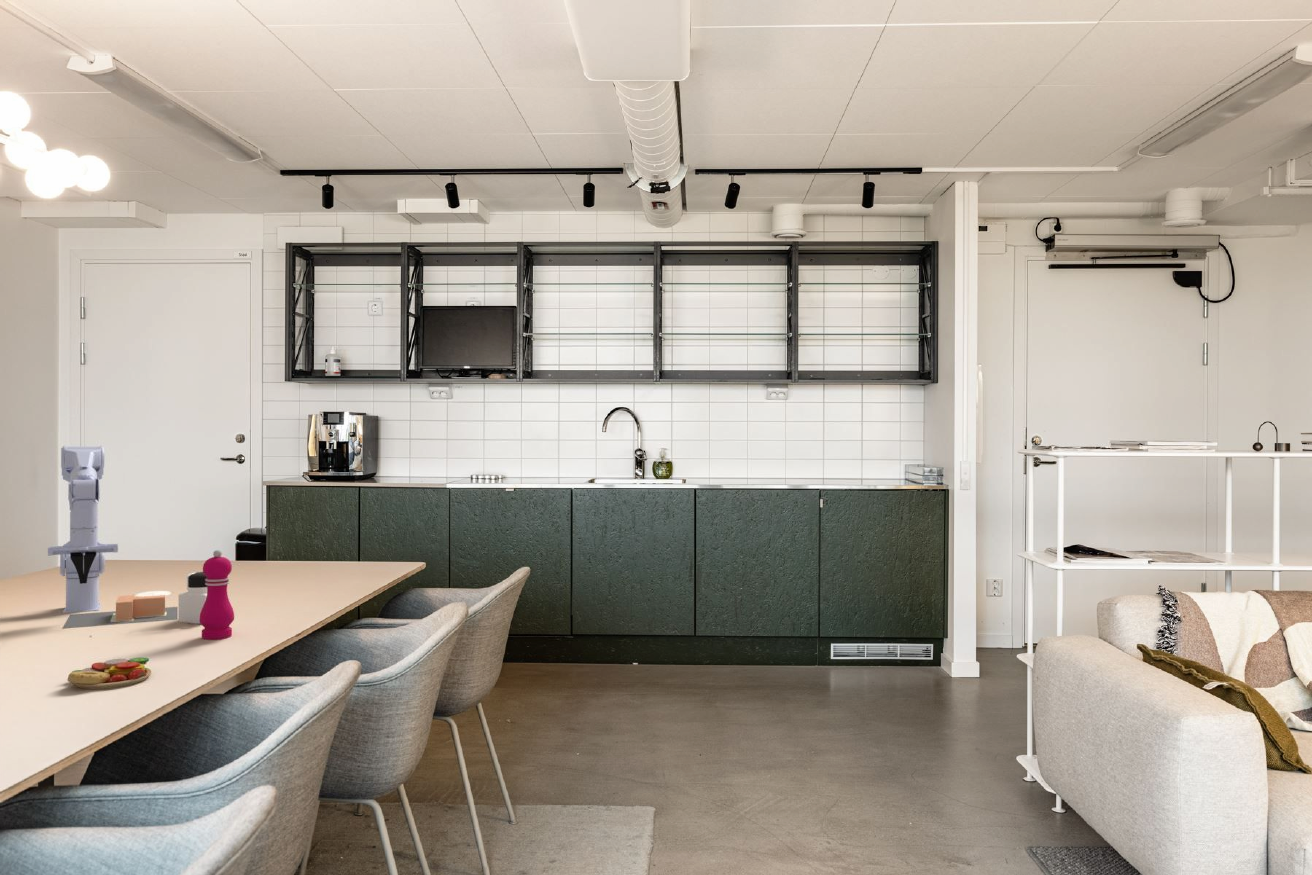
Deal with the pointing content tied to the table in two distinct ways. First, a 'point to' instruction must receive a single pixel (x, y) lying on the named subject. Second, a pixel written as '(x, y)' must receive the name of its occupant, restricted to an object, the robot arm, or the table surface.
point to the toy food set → (111, 674)
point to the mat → (110, 618)
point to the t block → (139, 606)
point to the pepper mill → (217, 599)
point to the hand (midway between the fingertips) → (83, 582)
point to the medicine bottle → (193, 598)
